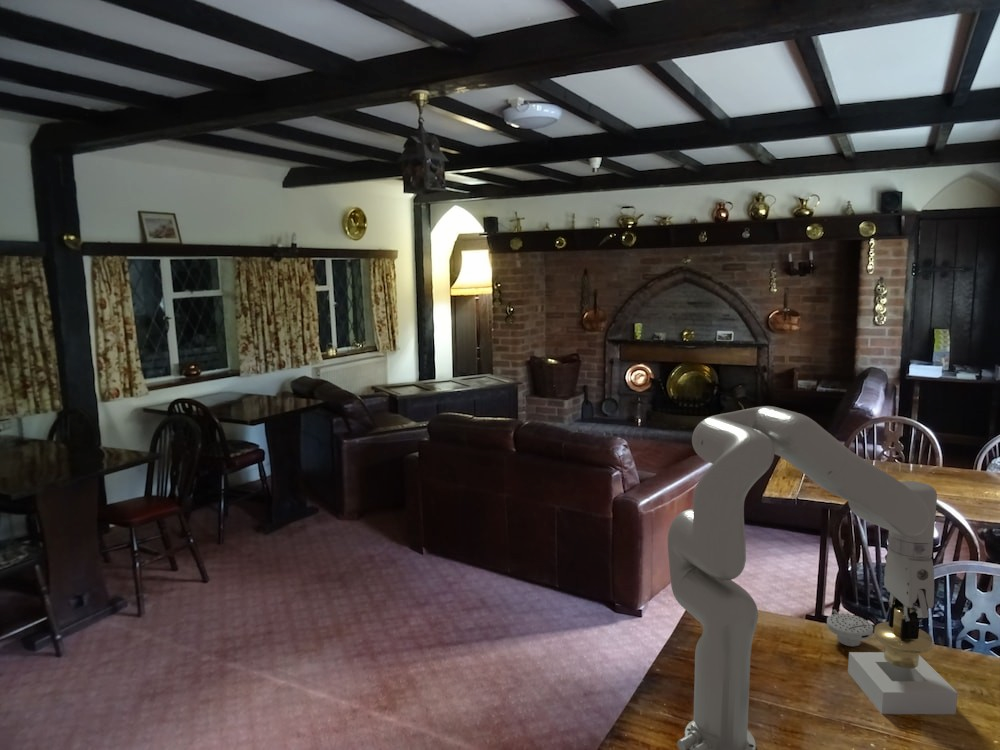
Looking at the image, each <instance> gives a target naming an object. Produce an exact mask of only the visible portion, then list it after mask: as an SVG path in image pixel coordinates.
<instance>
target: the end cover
mask: <svg viewBox="0 0 1000 750" xmlns="http://www.w3.org/2000/svg"><path fill="white" fill-rule="evenodd" d="M911 612H915V610H914V609H910V613H911ZM902 619H904V607H895V608H894V620H893V628H891V627H890V626H889V621H884V622H882V621H881V622H880V623H877V624H875V626H874V628H873V635H874V637H875V639H877V640H878V641H879V642H880V643H881V644H883V645H884V651H883V652H884V658H885V660H886V661H888V662H889V663H891V664H893V665H895V666H898V667H901V668H915V667H917V666H918V663H919V655H920V653H921V654H922V653H926V652H929V651H930V650H932V648H933V647H932V646H933V638H932V636H931V635H929V633H927V632H926V631H924V630H922V629H921V628H919V635H918V639H902V638H901V637H900V633H901V621H902Z"/></svg>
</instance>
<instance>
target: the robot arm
mask: <svg viewBox="0 0 1000 750" xmlns="http://www.w3.org/2000/svg"><path fill="white" fill-rule="evenodd" d="M691 444H692V447H693V450H694V452H695V453H696V455H697V456H698V457H700V459H702V460H703V461H706V462H708V463H709V464H711V465H710V467H709V468H708V469H707V470H706V471H705V472H704V474H703V475H702V476H701V477H700V479H699V480H698V481H697V483H696V486H695V488H694V491H693V495H692V508H689V509H686V510H683V511H681V512H679V514H676V516H675V517H674V519H673V520H672V522H671V523H670V526H669V529H668V533H667V553H668V555H667V556H668V565H669V567H668V568H669V577H670V585H671V586H670V587H671V591H672V593H673V596H674V599H675V601H676V602H677V603H678V604H679V605H680V606H681V607H682V608H683V609H684V610H686V611H687V612H688V613H689V614H690V615H691V616H692V617H693V618H695V620H696V621H698V622H699V623H700V624H701V626H702V634H701V636H700V637H699V639H698V640H697V643H696V646H695V649H694V650H695V653H694V687H693V689H694V690H693V691H694V692H693V693H694V694H693V719H692V720H691V721H689V723H688V724H687V725H686V727H684V736H683V737H682V738H680V739H678V740H677V742H676V745H677V748H678V749H679V750H757V743H756V740H755V737H754V736H753V734H752V733H751V732H750V730H749V729H748V727H749V725H748V724H749V723H748V722H749V701H750V677H751V675H750V674H751V656H752V645H753V640H754V636H755V633H756V632H755V631H756V628H757V624H758V619H759V611H758V606H757V604H756V601H755V600H754V598H753V596H752V595H751V594H750V593H749V592H748V591H747V590H746V589H744V588H743V587H742V586H741V585H740V584H738V583H736V582H735V581H733V580H734V579H736V578H738V577H739V576H740V575H741V574H742V572H743V571H744V569H745V566H746V562H747V547H746V534H745V533H746V531H745V510H744V509H745V500H746V497H747V495H748V493H749V491H750V490H751V488H752V487H753V486H754V484H756V482H757V481H759V479H761V477H763V476H764V474H765V473H767V471H768V470H769V469H770V467H771V466H772V464H773V461H774V459H775V455H776V456H778V457H780V458H782V459H783V460H785V461H786V462H788V463H789V464H790V465H791V466H793V468H796V469H797V470H798V471H800V472H801V473H803V475H804V476H806V477H807V478H808V479H810V480H811V481H812V482H814V483H815V484H816V485H817V486H819V487H820V488H822V489H824V490H825V491H827V492H829V493H831V494H832V495H834V496H836V497H839V498H841V499H842V500H845V501H848V502H847V503H848V506H849V508H850V509H849V510H850V511H851V512H852V513H853V514H854V515H855V516H856V517H858V518H859V519H861V520H863V521H866V522H867V523H869V524H870V523H871V524H872V525H875V526H878V527H880V528H883V529H884V530H887V531H888V536H887V537H888V539H887V553H886V558H885V566H884V574H883V575H884V577H883V578H884V579H883V584H884V588H885V590H886V591H887V595H888V597H889V598H888V599H889V600H888V605H889V607H890V608H889V615H888V622H889V626H890V627H891V628H893V620H894V608H895V607H904V619H902V621H901V633H900V637H901V638H902V639H918V635H919V629H920V622H922V621H923V619H927V618H929V616H930V615H929V611H928V609H933V607H934V602H935V570H934V562H933V559H932V557H933V547H934V537H935V536H934V534H935V525H936V514H937V513H936V512H937V503H938V502H937V501H938V492H937V490H936V489H935V488H934V486H932V485H929V484H927V483H924V482H921V481H913V480H904V481H903V480H902V481H900V480H899V479H897V478H895V477H893V476H892V475H890V474H889V473H887V472H886V471H883V470H882V469H881V468H878V467H877V466H875V465H874V464H872V463H871V462H869V461H868V460H866V459H865V458H863V457H862V456H860V455H858V454H856V453H854V452H853V451H852V450H850V449H849V448H848V447H846V446H845V445H844V444H843V443H841V441H839V440H838V439H837V438H836V437H834V436H833V435H832V434H831V433H829V432H828V431H827V430H826V429H824V428H823V426H821V425H820V424H819V423H817V422H816V421H815V420H813V419H812V418H811V417H809V416H807V415H805V414H803V413H798V412H797V411H792V410H788V409H784V408H780V407H776V406H772V405H771V406H770V405H764V406H763V405H761V406H756V407H751V408H746V409H741V410H735V411H731V412H726V413H720V414H715V415H711V416H708V417H706V418H705V419H702V420H701V421H700V422H699V423H698V424H697V426H696V427H695V428H694V430H693V433H692V437H691ZM910 609H912V610H914V612H911V613H910Z"/></svg>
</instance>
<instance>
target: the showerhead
mask: <svg viewBox="0 0 1000 750" xmlns="http://www.w3.org/2000/svg"><path fill="white" fill-rule="evenodd" d="M832 612H833V614H831V615H829V616H828V617H827V618H826V627H827V629H828V630H829V631H830V632H831V633H833V634H835V635H836V639H837V641H838V642H839V643H840V644H842V645H845V646H848V647H858V646H860V645H861V643H862V640H867V639H870V638H871V637H872V636H873V635H874V627H873V625H872V624H871V622H869V621H868V620H866V619H864V618H863V617H861V616H857V615H855V614H849V613H844V612H843V613H838V611H837V610H836V609H832Z"/></svg>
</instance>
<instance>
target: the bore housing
mask: <svg viewBox="0 0 1000 750" xmlns="http://www.w3.org/2000/svg"><path fill="white" fill-rule="evenodd" d="M847 665H848V666H847V673H848V674H849V675H850V677H851V678H852V679H853V680H854V682H855V683H856V684H857V685H858V686H859V688H860V690H862V691H863V693H864V694H865V695H866V697H867V698H868V699H869V701H870V702H871V703H872V704H873V706H875V708H876V709H877V710H878V712H879V713H880V714H881V715H956V714H957V707H958V705H957V704H958V695H959V692H958V691H957V690H956V689H955V688H954V687H953V686H951V684H950V683H949V682H948V681H946V679H945V678H944V677H943V676H942V675H940V673H938V672H937V671H936V670H935V669H934V668H933V667H932V666H931V665H930V664H929V662H928V661H926V660H925V659H924V658H923V657H922V656H921V655H920V654H919V663H918V666H917V667H915V668H901V667H898V666H895V665H893V664H891V663H889V662H888V661H886V660H885V658H884V651H882V652H881V651H879V652H875V651H872V652H871V651H867V652H865V651H864V652H862V651H858V652H857V651H854V652H853V651H849V652H848V662H847Z"/></svg>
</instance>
